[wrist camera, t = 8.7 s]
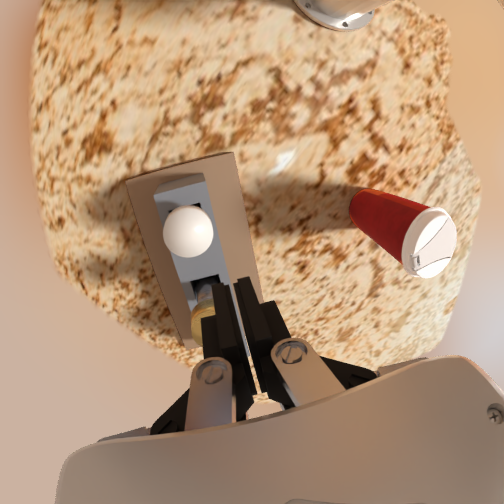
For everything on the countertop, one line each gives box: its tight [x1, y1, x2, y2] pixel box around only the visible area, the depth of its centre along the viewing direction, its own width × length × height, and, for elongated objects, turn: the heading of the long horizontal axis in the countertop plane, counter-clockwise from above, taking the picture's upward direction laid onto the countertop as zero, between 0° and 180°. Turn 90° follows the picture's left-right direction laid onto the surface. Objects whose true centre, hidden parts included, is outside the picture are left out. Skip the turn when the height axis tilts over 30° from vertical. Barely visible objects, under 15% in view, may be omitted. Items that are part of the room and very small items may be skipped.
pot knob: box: [191, 275, 218, 347], centre depth 29 cm, size 4×4×10 cm
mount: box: [125, 152, 264, 357], centre depth 35 cm, size 26×13×7 cm, turn 10°
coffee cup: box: [349, 189, 457, 278], centre depth 33 cm, size 8×8×15 cm
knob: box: [163, 203, 213, 258], centre depth 29 cm, size 4×4×9 cm
